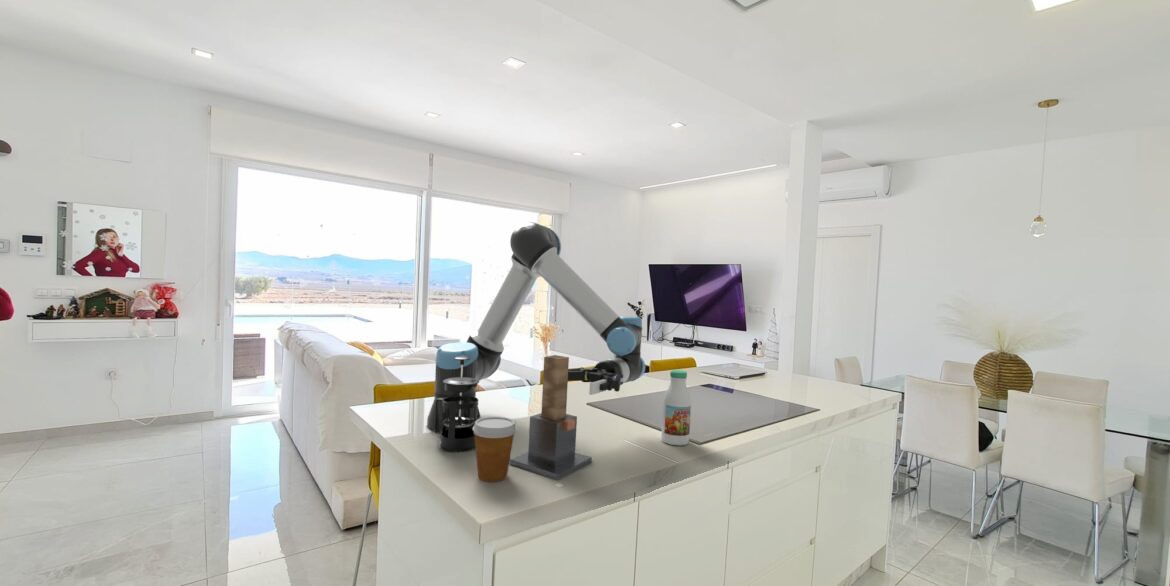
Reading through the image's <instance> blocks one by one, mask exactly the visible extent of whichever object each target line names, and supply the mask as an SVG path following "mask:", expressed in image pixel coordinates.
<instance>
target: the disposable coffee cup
mask: <svg viewBox="0 0 1170 586" xmlns="http://www.w3.org/2000/svg"><path fill="white" fill-rule="evenodd" d="M473 431H474V434H475V445H476V448H475V454H476V455H475V456H476V470H477V478H478V479H479V480H480V481H483V482H489V483H491V482H492V483H493V482H500V481H503V480H505V479H506V478H507V476H508V471H509V466H510V459H511V456H512V455H511V453H512V448H513V441H514V437H515V433H516V432H517V426H516V422H515V420H514V419H512V418H509V417H505V416H487V417H481V419H478V420H477V421H475V425H474V426H473Z"/></svg>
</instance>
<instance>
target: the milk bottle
mask: <svg viewBox="0 0 1170 586" xmlns="http://www.w3.org/2000/svg"><path fill="white" fill-rule="evenodd" d="M687 373H688V372H687V371H685V370H682V369H681V370H680V369H672V370H670V374H669V378H670V382H669V386H668V387H667V390H666V391H665V393H664V396H663V402H662V414H661V415H662V417H661V418H662V419H661V435H660V437H661V438H660V439H661V441H662V442H663V443H665V444H667V445H672V446H686V445H688V444H689V441H690V429H691V413H692V412H691V410H692V409H691V408H692V407H691V406H692V403H691V402H692V401H691V397H690V396H691V395H690V393H689V390H688V387H687V382H686V381H687V380H688V379H687V377H688V374H687Z"/></svg>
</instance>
